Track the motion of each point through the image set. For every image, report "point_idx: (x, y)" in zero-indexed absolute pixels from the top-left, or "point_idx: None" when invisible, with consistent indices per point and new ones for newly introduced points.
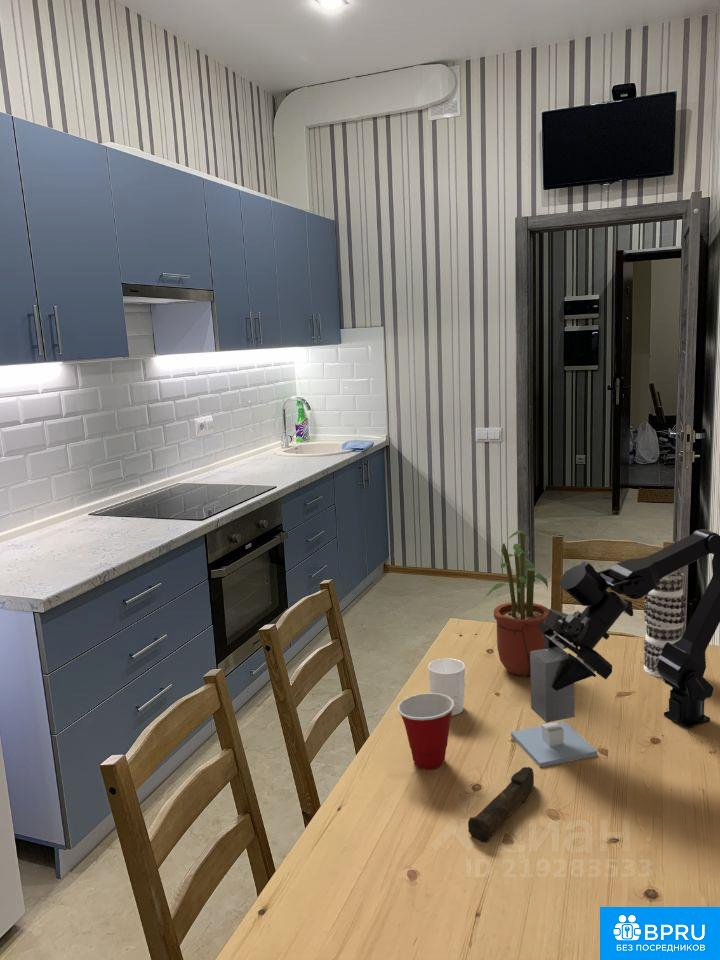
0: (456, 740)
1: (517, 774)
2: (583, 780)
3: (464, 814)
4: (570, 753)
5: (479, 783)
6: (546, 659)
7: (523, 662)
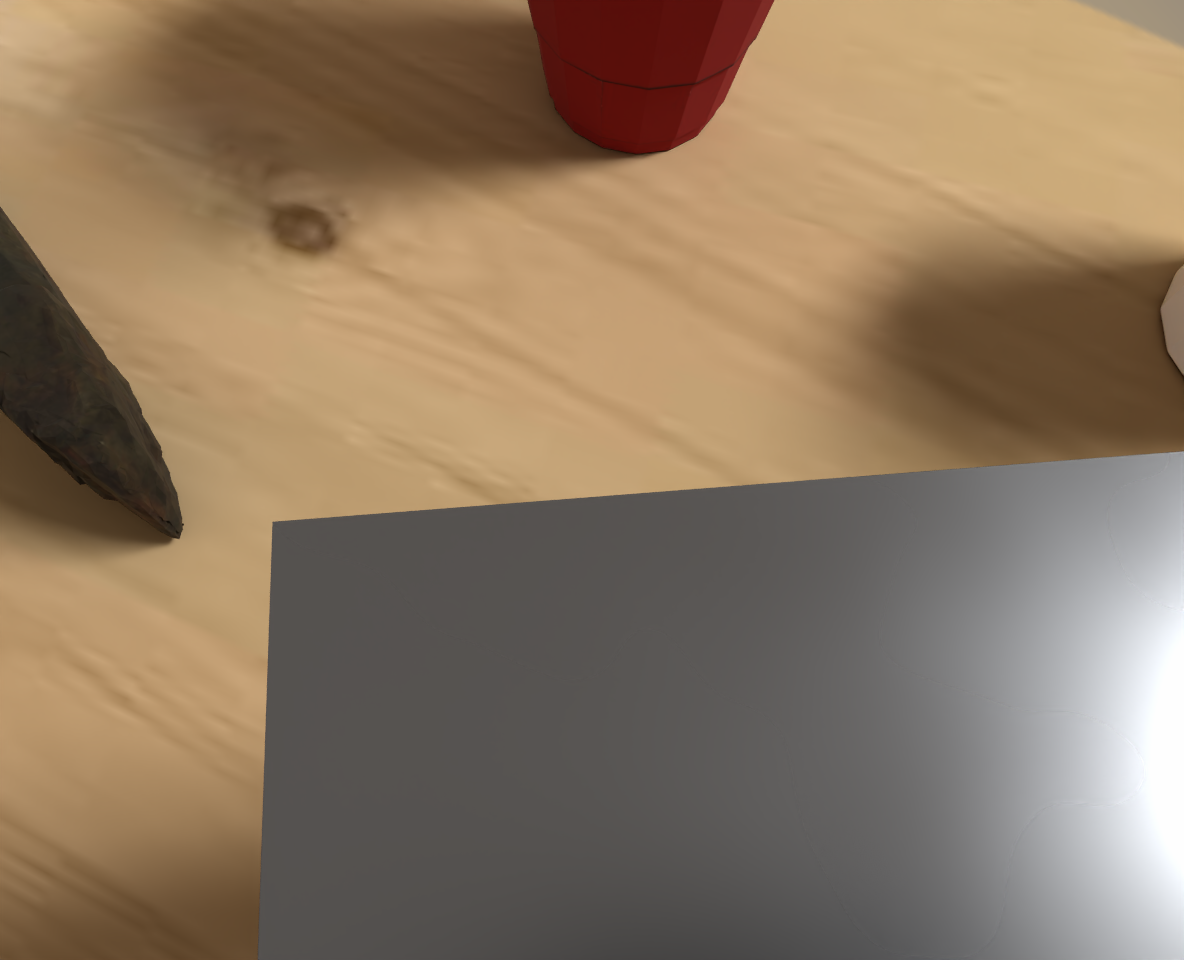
0: (837, 277)
1: (39, 326)
2: (75, 934)
3: (96, 108)
4: None
5: (333, 254)
6: (625, 721)
7: None
